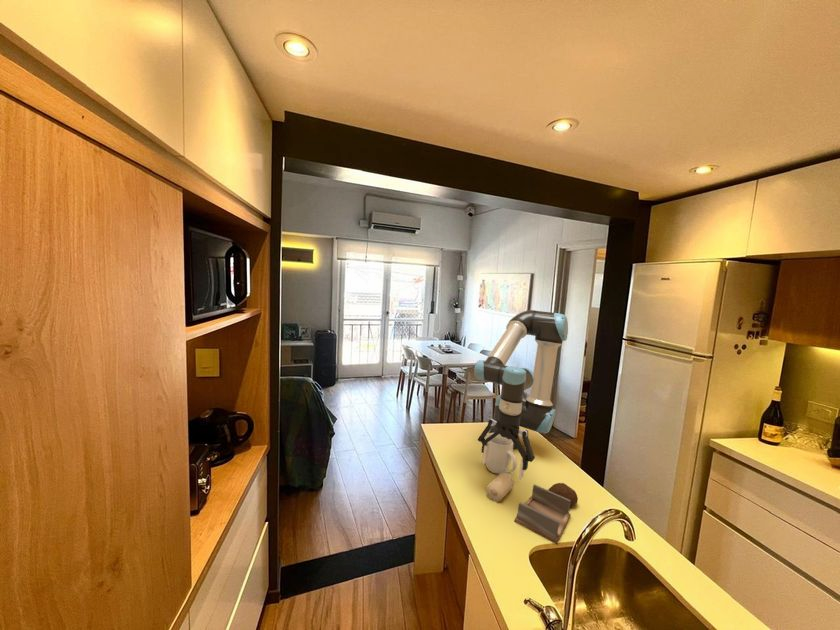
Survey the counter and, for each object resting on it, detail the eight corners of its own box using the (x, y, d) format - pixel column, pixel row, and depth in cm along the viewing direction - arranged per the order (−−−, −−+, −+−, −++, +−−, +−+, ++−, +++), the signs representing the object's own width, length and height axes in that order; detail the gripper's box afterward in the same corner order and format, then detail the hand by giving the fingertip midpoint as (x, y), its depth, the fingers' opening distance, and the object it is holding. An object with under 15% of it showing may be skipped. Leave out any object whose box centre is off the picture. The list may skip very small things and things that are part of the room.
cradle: (531, 498, 119) (533, 482, 118) (570, 516, 111) (572, 499, 110) (514, 521, 106) (516, 503, 105) (556, 543, 98) (559, 524, 98)
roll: (497, 484, 126) (499, 469, 125) (513, 491, 122) (514, 476, 121) (485, 497, 117) (487, 480, 117) (501, 504, 114) (503, 488, 113)
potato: (581, 511, 114) (584, 492, 114) (551, 508, 114) (553, 489, 114) (572, 498, 121) (574, 480, 121) (543, 495, 121) (546, 477, 121)
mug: (523, 478, 131) (527, 446, 130) (503, 485, 125) (508, 452, 124) (495, 459, 144) (499, 430, 142) (476, 465, 137) (480, 435, 136)
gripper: (473, 403, 121) (466, 459, 123) (542, 426, 106) (533, 489, 108) (482, 399, 127) (475, 452, 129) (549, 420, 112) (541, 480, 114)
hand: (502, 469), depth 118 cm, fingers open, 13 cm apart
